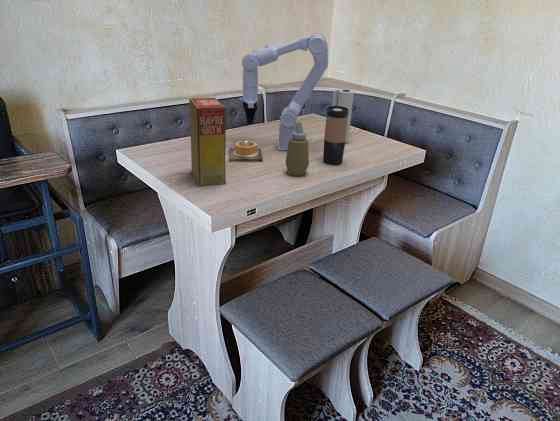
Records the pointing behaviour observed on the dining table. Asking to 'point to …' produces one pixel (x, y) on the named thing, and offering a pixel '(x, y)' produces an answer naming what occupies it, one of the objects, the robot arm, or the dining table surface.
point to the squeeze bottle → (297, 152)
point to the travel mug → (335, 135)
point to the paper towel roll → (344, 105)
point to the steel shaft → (246, 143)
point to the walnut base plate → (245, 156)
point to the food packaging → (208, 140)
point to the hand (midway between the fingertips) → (249, 121)
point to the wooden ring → (245, 148)
